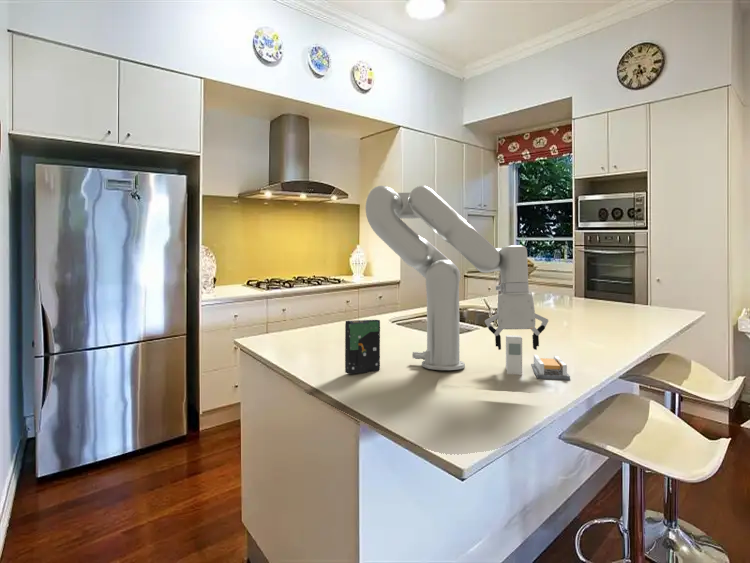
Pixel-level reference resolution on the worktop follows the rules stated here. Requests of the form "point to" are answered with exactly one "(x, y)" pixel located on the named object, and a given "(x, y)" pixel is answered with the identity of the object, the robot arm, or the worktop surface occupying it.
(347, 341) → the disk drive
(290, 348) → the worktop surface
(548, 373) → the rail
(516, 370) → the block
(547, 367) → the orange rectangular panel
